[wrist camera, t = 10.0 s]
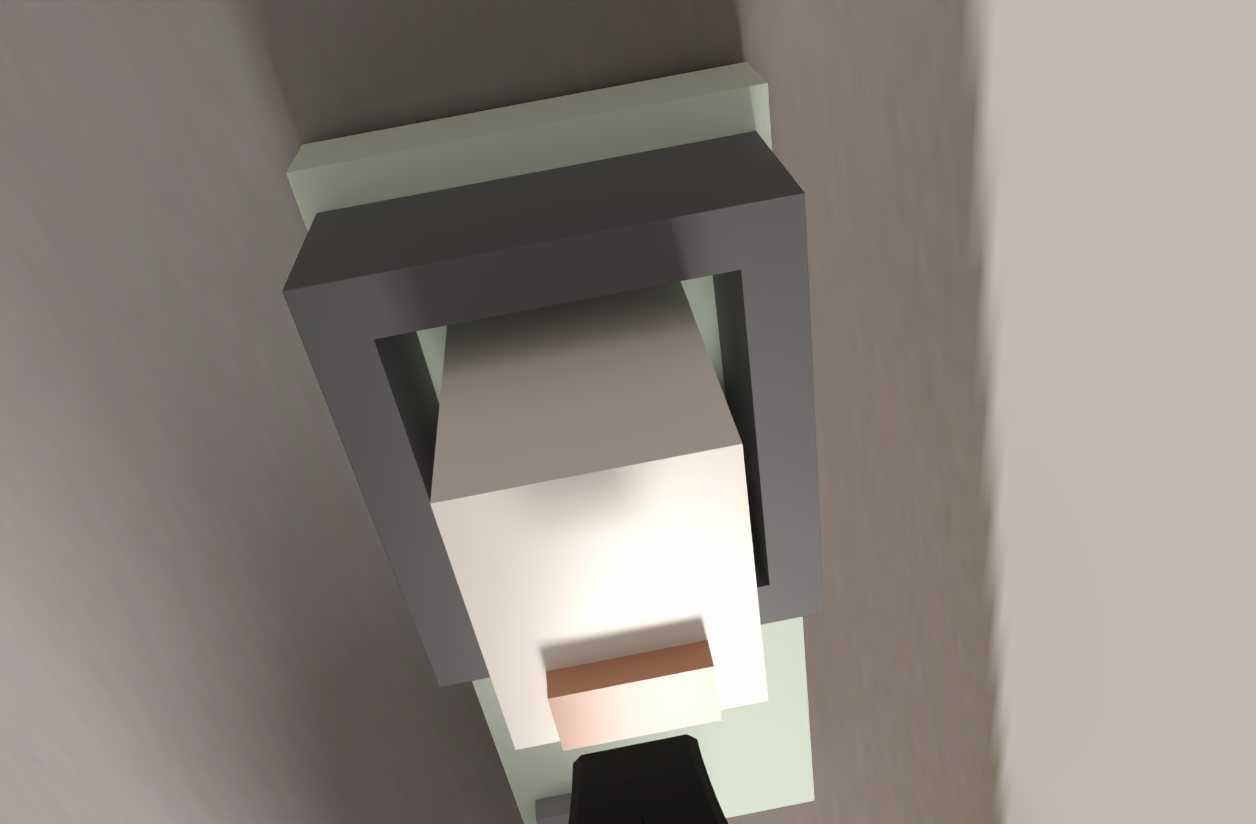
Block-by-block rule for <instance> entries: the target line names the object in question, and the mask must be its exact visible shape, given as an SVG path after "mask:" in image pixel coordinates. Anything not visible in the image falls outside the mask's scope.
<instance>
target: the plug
mask: <svg viewBox="0 0 1256 824" xmlns="http://www.w3.org/2000/svg"><path fill="white" fill-rule="evenodd" d="M430 505H431V508H432V511H433V513H434V516H435V519H436V522H437V525H438V528H439V531H440V534H441V537H442V539H443V542H444V545H445V548H446V551H447V554H448V557H449V560H450V562H451V565H452V568H453V571H454V574H455V577H456V580H457V583H458V585H459V588H460V591H461V594H462V597H463V600H464V603H465V606H466V609H467V611H468V614H469V617H470V620H471V623H472V626H473V629H474V632H475V634H476V637H477V640H478V643H479V646H480V649H481V652H482V655H483V658H484V660H485V663H486V666H487V669H488V672H489V675H490V678H491V681H492V683H493V686H494V689H495V692H496V695H497V698H498V701H499V704H500V706H501V709H502V712H503V715H504V718H505V721H506V724H507V727H508V730H509V732H510V735H511V738H512V741H513V744H514V747H515V750H518V749H523V748H528V747H533V746H538V745H543V744H549V743H554V742H559V741H560V742H561V745H562V748H563V751H567V750H573V749H578V748H583V747H588V746H593V745H598V744H603V743H608V742H613V741H618V740H624V739H629V738H634V737H639V736H644V735H649V734H654V733H659V732H664V731H670V730H675V729H680V728H685V727H690V726H695V725H700V724H705V723H710V722H715V721H721V720H722V717H721V711H720V710H722V709H727V708H732V707H738V706H743V705H748V704H753V703H758V702H763V701H768V693H767V683H766V673H765V663H764V653H763V643H762V633H761V623H760V613H759V603H758V593H757V584H756V574H755V564H754V554H753V544H752V534H751V524H750V514H749V504H748V494H747V484H746V474H745V464H744V454H743V444H742V441H741V439H740V436H739V433H738V431H737V428H736V426H735V423H734V420H733V418H732V415H731V412H730V410H729V407H728V405H727V402H726V399H725V397H724V394H723V391H722V389H721V386H720V383H719V381H718V378H717V376H716V373H715V370H714V368H713V365H712V362H711V360H710V357H709V355H708V352H707V349H706V347H705V344H704V341H703V339H702V336H701V334H700V331H699V328H698V326H697V323H696V320H695V318H694V315H693V312H692V310H691V307H690V305H689V302H688V299H687V297H686V294H685V291H684V289H683V286H682V284H681V281H679V282H674V283H668V284H663V285H658V286H653V287H647V288H642V289H637V290H631V291H626V292H621V293H616V294H610V295H605V296H600V297H595V298H589V299H584V300H579V301H573V302H568V303H563V304H558V305H552V306H547V307H542V308H536V309H531V310H526V311H521V312H515V313H510V314H505V315H500V316H494V317H489V318H484V319H478V320H473V321H468V322H463V323H457V324H452V325H447V332H446V342H445V353H444V363H443V374H442V384H441V395H440V405H439V416H438V426H437V437H436V447H435V458H434V468H433V479H432V489H431V500H430Z"/></svg>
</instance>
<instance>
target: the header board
mask: <svg viewBox="0 0 1256 824" xmlns="http://www.w3.org/2000/svg"><path fill="white" fill-rule="evenodd" d="M286 174H287V177H288V180H289V182H290V185H291V188H292V191H293V193H294V196H295V199H296V201H297V204H298V207H299V210H300V212H301V215H302V218H303V221H304V223H305V226H306V229H307V232H308V234H307V236H306V238H305V241H304V243H303V245H302V248H301V250H300V252H299V254H298V257H297V259H296V261H295V264H294V266H293V268H292V270H291V273H290V275H289V277H288V280H287V282H286V284H285V286H284V289H283V291H282V292H283V294H284V297H285V299H286V302H287V304H288V307H289V309H290V312H291V314H292V317H293V320H294V322H295V325H296V327H297V330H298V332H299V335H300V337H301V340H302V342H303V345H304V347H305V350H306V352H307V355H308V357H309V360H310V362H311V365H312V367H313V370H314V372H315V375H316V377H317V380H318V382H319V385H320V388H321V390H322V393H323V395H324V398H325V400H326V403H327V405H328V408H329V410H330V413H331V415H332V418H333V420H334V423H335V425H336V428H337V430H338V433H339V435H340V438H341V440H342V443H343V445H344V448H345V450H346V453H347V456H348V458H349V461H350V463H351V466H352V468H353V471H354V473H355V476H356V478H357V481H358V483H359V486H360V488H361V491H362V493H363V496H364V498H365V501H366V503H367V506H368V508H369V511H370V513H371V516H372V518H373V521H374V524H375V526H376V529H377V531H378V534H379V536H380V539H381V541H382V544H383V546H384V549H385V551H386V554H387V556H388V559H389V561H390V564H391V566H392V569H393V571H394V574H395V576H396V579H397V581H398V584H399V586H400V589H401V592H402V594H403V597H404V599H405V602H406V604H407V607H408V609H409V612H410V614H411V617H412V619H413V622H414V624H415V627H416V629H417V632H418V634H419V637H420V639H421V642H422V644H423V647H424V649H425V652H426V654H427V657H428V660H429V662H430V665H431V667H432V670H433V672H434V675H435V677H436V680H437V682H438V685H439V687H444V686H449V685H454V684H460V683H465V682H470V681H472V683H473V685H474V688H475V691H476V694H477V696H478V699H479V702H480V705H481V707H482V710H483V713H484V716H485V718H486V721H487V724H488V726H489V729H490V732H491V735H492V737H493V740H494V743H495V746H496V748H497V751H498V754H499V757H500V759H501V762H502V765H503V767H504V770H505V773H506V776H507V778H508V781H509V784H510V787H511V789H512V792H513V795H514V798H515V800H516V803H517V806H518V808H519V811H520V814H521V817H522V819H523V822H524V824H568V823H569V814H570V804H571V793H572V772H573V763H574V762H575V761H576V760H577V759H578V758H579V756H580V755H584V754H589V753H594V752H599V751H604V750H609V749H614V748H619V747H624V746H629V745H634V744H639V743H644V742H649V741H654V740H659V739H665V738H670V737H675V736H680V735H685V734H687V735H690V736H692V737H694V738H696V739H697V740H698V744H699V748H700V752H701V755H702V758H703V761H704V764H705V767H706V770H707V773H708V776H709V779H710V782H711V784H712V787H713V789H714V792H715V794H716V797H717V799H718V802H719V804H720V806H721V809H722V811H723V813H724V816H725V818H728V817H733V816H738V815H744V814H749V813H754V812H759V811H764V810H769V809H774V808H779V807H784V806H789V805H794V804H799V803H804V802H809V801H814V787H813V772H812V756H811V741H810V726H809V710H808V695H807V679H806V664H805V649H804V633H803V618H802V617H803V616H808V615H813V614H818V613H824V599H823V578H822V556H821V535H820V513H819V492H818V470H817V449H816V427H815V406H814V384H813V363H812V341H811V320H810V298H809V277H808V255H807V233H806V212H805V193H804V192H803V190H802V189H801V188H800V186H799V185H798V184H797V183H796V181H795V180H794V179H793V177H792V176H791V175H790V174H789V172H788V171H787V170H786V168H785V167H784V166H783V165H782V163H781V162H780V161H779V159H778V158H777V157H776V156H775V154H774V153H773V152H772V142H771V126H770V111H769V95H768V83H767V82H766V81H765V80H764V79H763V77H762V76H761V75H760V74H759V73H758V72H757V71H756V70H755V69H754V68H753V67H752V66H751V65H750V64H749V63H748V62H743V63H737V64H732V65H727V66H721V67H716V68H711V69H705V70H700V71H694V72H689V73H684V74H678V75H673V76H668V77H662V78H657V79H651V80H646V81H641V82H635V83H630V84H625V85H619V86H614V87H609V88H603V89H598V90H592V91H587V92H582V93H576V94H571V95H566V96H560V97H555V98H550V99H544V100H539V101H533V102H528V103H523V104H517V105H512V106H507V107H501V108H496V109H490V110H485V111H480V112H474V113H469V114H464V115H458V116H453V117H448V118H442V119H437V120H431V121H426V122H421V123H415V124H410V125H405V126H399V127H394V128H389V129H383V130H378V131H372V132H367V133H362V134H356V135H351V136H346V137H340V138H335V139H329V140H324V141H319V142H313V143H308V144H303V145H301V147H300V149H299V151H298V153H297V154H296V156H295V158H294V160H293V161H292V163H291V165H290V167H289V168H288V170H287V172H286ZM679 281H681V284H682V286H683V289H684V291H685V294H686V297H687V299H688V302H689V305H690V307H691V310H692V312H693V315H694V318H695V320H696V323H697V326H698V328H699V331H700V334H701V336H702V339H703V341H704V344H705V347H706V349H707V352H708V355H709V357H710V360H711V362H712V365H713V368H714V370H715V373H716V376H717V378H718V381H719V383H720V386H721V389H722V391H723V394H724V397H725V399H726V402H727V405H728V407H729V410H730V412H731V415H732V418H733V420H734V423H735V426H736V428H737V431H738V433H739V436H740V439H741V441H742V444H743V454H744V464H745V474H746V484H747V494H748V504H749V514H750V524H751V534H752V544H753V554H754V564H755V574H756V584H757V593H758V603H759V613H760V623H761V633H762V643H763V653H764V663H765V673H766V683H767V693H768V701H763V702H758V703H753V704H748V705H743V706H738V707H732V708H727V709H722V710H720V711H721V717H722V720H721V721H715V722H710V723H705V724H700V725H695V726H690V727H685V728H680V729H675V730H670V731H664V732H659V733H654V734H649V735H644V736H639V737H634V738H629V739H624V740H618V741H613V742H608V743H603V744H598V745H593V746H588V747H583V748H578V749H573V750H567V751H563V748H562V745H561V742H560V741H559V742H554V743H549V744H543V745H538V746H533V747H528V748H523V749H518V750H515V747H514V744H513V741H512V738H511V735H510V732H509V730H508V727H507V724H506V721H505V718H504V715H503V712H502V709H501V706H500V704H499V701H498V698H497V695H496V692H495V689H494V686H493V683H492V681H491V678H490V675H489V672H488V669H487V666H486V663H485V660H484V658H483V655H482V652H481V649H480V646H479V643H478V640H477V637H476V634H475V632H474V629H473V626H472V623H471V620H470V617H469V614H468V611H467V609H466V606H465V603H464V600H463V597H462V594H461V591H460V588H459V585H458V583H457V580H456V577H455V574H454V571H453V568H452V565H451V562H450V560H449V557H448V554H447V551H446V548H445V545H444V542H443V539H442V537H441V534H440V531H439V528H438V525H437V522H436V519H435V516H434V513H433V511H432V508H431V505H430V500H431V489H432V479H433V468H434V458H435V447H436V437H437V426H438V416H439V405H440V395H441V384H442V374H443V363H444V353H445V342H446V332H447V325H452V324H457V323H463V322H468V321H473V320H478V319H484V318H489V317H494V316H500V315H505V314H510V313H515V312H521V311H526V310H531V309H536V308H542V307H547V306H552V305H558V304H563V303H568V302H573V301H579V300H584V299H589V298H595V297H600V296H605V295H610V294H616V293H621V292H626V291H631V290H637V289H642V288H647V287H653V286H658V285H663V284H668V283H674V282H679Z"/></svg>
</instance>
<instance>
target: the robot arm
mask: <svg viewBox="0 0 1256 824" xmlns="http://www.w3.org/2000/svg"><path fill="white" fill-rule="evenodd" d="M568 824H728V822H727V820H726V818H725V816H724V813H723V811H722V809H721V806H720V804H719V802H718V799H717V797H716V794H715V792H714V789H713V787H712V784H711V782H710V779H709V776H708V773H707V770H706V767H705V764H704V761H703V758H702V755H701V752H700V748H699V744H698V740H697V739H696V738H694V737H692V736H690V735H687V734H685V735H680V736H675V737H670V738H665V739H659V740H654V741H649V742H644V743H639V744H634V745H629V746H624V747H619V748H614V749H609V750H604V751H599V752H594V753H589V754H584V755H580V756H579V758H578V759H577V760H576V761H575V762H574V763H573V772H572V793H571V804H570V814H569V823H568Z"/></svg>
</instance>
